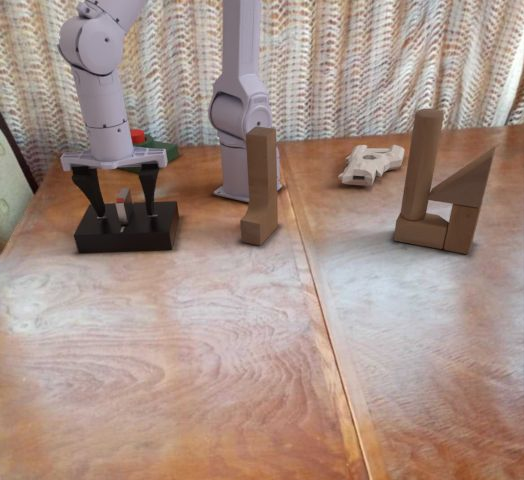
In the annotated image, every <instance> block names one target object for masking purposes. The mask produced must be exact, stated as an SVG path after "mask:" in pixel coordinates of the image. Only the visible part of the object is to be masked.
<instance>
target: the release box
mask: <svg viewBox="0 0 524 480" xmlns="http://www.w3.org/2000/svg"><path fill="white" fill-rule="evenodd" d="M144 136H145V141H144V142H142V143H137V144H133V147H142V148H151V149H166V154H167V161H168V162H167V164H168V163H169V162H171V161H173V160H175V159H176V158H178V157H179V156H180V154H179V147H178V146H179V145H178V144H175V143H169V142H163V141H159V140H154V137H153V136H152V135H151V134H147V133H144ZM141 168H142V167H117V168H116V169H119V170H123V171H129V172H133V173H137V174H139V172H140V170H141Z"/></svg>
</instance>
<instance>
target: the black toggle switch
mask: <svg viewBox="0 0 524 480" xmlns="http://www.w3.org/2000/svg"><path fill="white" fill-rule="evenodd" d="M115 203H116V202H110V203H104V205H105V214H104V216H103V218H99V217H98V216H97V213H96V211H95V210H94V208H93V206H92V204H91V203H89V204H88V206H87V208H86V210H85V212H84V213H83V216H82V217H81V220H80V222H79V224H78V225H77V227H76V230H75V232H74V233H73V239H74V242H75V245H76V249H77V252H78V254H93V253H95V254H96V253H119V252H121V253H122V252H148V251H149V252H151V251H152V252H153V251H172V250H173V249H174V243H175V239H176V234H177V230H178V225H179V221H180V213H179V207H178V201H177V200H166V201H163V200H162V201H154V213H153V215H152V216H148V214H147V211H146V203H145V201H140V202H133V207H134V210H133V213H132V216H131V218H130V221H129V224H128V225H120V221H119V217H118V213H117V208H116V204H115Z"/></svg>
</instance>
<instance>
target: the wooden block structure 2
mask: <svg viewBox="0 0 524 480" xmlns="http://www.w3.org/2000/svg"><path fill="white" fill-rule="evenodd" d="M444 116H445V114H444V112H443V111H442V110H439V109H435V108H429V107H427V108H421V109H418V110H416V111H415V114H414V118H413V126H412V131H411V132H412V133H411V139H410V146H409V153H408V160H407V168H406V173H405V179H404V188H403V193H402V201H401V207H400V211H399V214H398V217H397V218H396V220H395V227H394V233H393V240H394V241H395V242H400V243H405V244H406V243H407V244H411V245H416V246H421V247H427V248H433V249H439V250H444V251H447V252H453V253H459V254H463V255H468V254H469V253H470V251H471V248H472V245H473V243H474V237H475V233H476V229H477V226H478V222H479V218H480V213H481V210H482V206H483V203H484V196H485V194H486V193H485V192H486V189H487V184H488V181H489V177H490V173H491V170H492V165H493V161H494V158H495V154H496V150H497V147H496V146H493V147H491V148H490V149H488V150H487V151H486V152H484V153H483V154H480V156H478V157H477V158H475V159H474V160H472V161H471V162H469V163H468V164H467V165H465V166H463V167H462V168H460V169H459V170H458V171H456V172H454V173H453V174H451V175H450V176H448V177H447V178H445V179H444V180H443V181H440V183H437V185H435V186H433V187H432V184H433V177H434V174H435V173H434V172H435V168H436V161H437V157H438V151H439V146H440V139H441V134H442V127H443V124H444V123H443V122H444ZM429 201H433V202H439V203H446V204H452V206H451V209H450V214H449V219H448V221H447V219H445V218H444V217H443V216H441V215H439V214H435V213H429V212H427V211H428V205H429Z"/></svg>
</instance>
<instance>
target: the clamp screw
mask: <svg viewBox="0 0 524 480" xmlns="http://www.w3.org/2000/svg"><path fill="white" fill-rule="evenodd" d="M114 203H115V204H116V208H117V213H118V217H119V221H120V225H128V224H129V221H130V218H131V216H132V213H133V210H134V207H133V203H134V202H133V198H132V193H131V189H130V187H123V188H121V189H120V192H119V195H118V196H117V199H116V200H115V202H114Z"/></svg>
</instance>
